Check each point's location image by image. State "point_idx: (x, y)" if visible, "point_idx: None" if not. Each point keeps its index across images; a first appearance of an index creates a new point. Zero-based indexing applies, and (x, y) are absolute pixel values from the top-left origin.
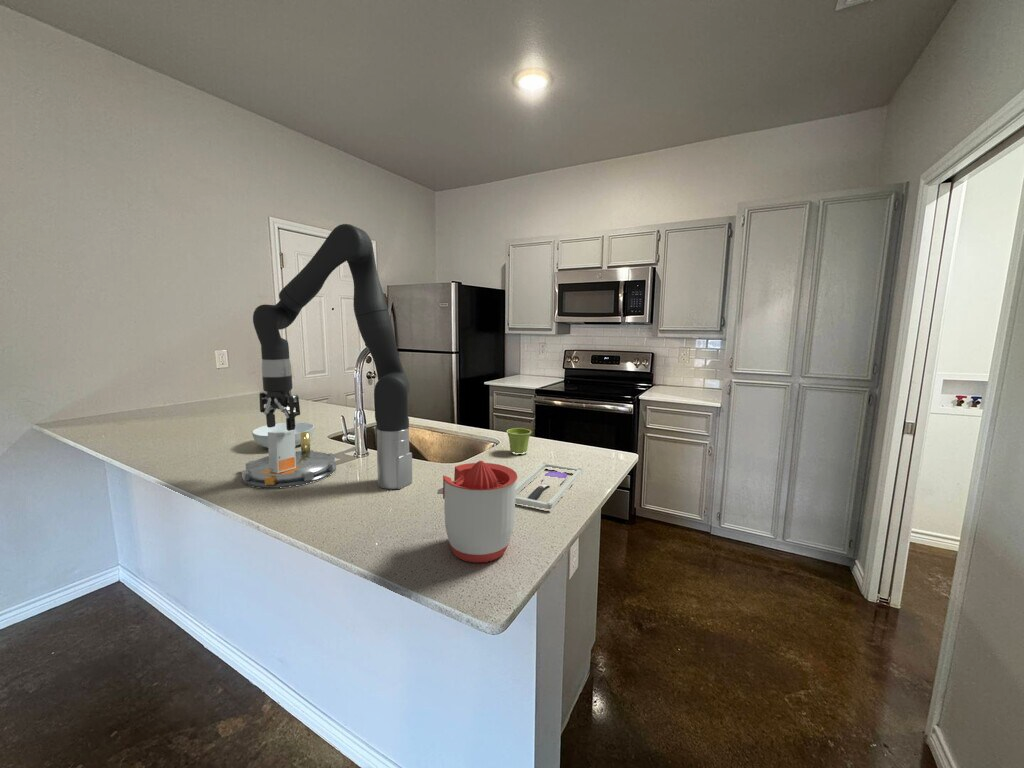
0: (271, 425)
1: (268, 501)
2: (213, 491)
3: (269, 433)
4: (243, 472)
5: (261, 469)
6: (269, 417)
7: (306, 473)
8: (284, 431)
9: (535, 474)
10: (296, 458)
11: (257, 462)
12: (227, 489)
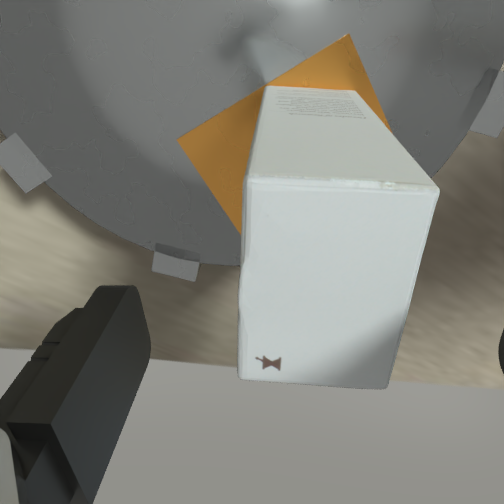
0: (139, 339)
1: (450, 303)
2: (175, 334)
3: (272, 377)
4: (166, 271)
5: (193, 206)
6: (95, 456)
7: (496, 116)
8: (372, 293)
9: None
10: None
11: (49, 147)
12: (195, 305)
